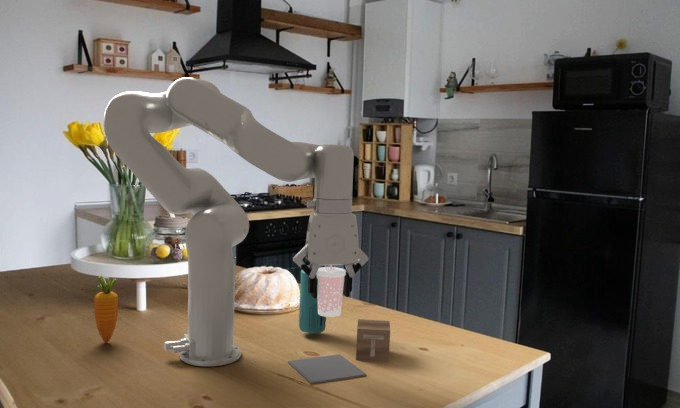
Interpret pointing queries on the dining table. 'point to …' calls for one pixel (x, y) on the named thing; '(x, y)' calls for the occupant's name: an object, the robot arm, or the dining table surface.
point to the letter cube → (373, 340)
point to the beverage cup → (330, 290)
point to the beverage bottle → (309, 309)
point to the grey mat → (326, 369)
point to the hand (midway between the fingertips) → (329, 295)
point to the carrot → (106, 309)
